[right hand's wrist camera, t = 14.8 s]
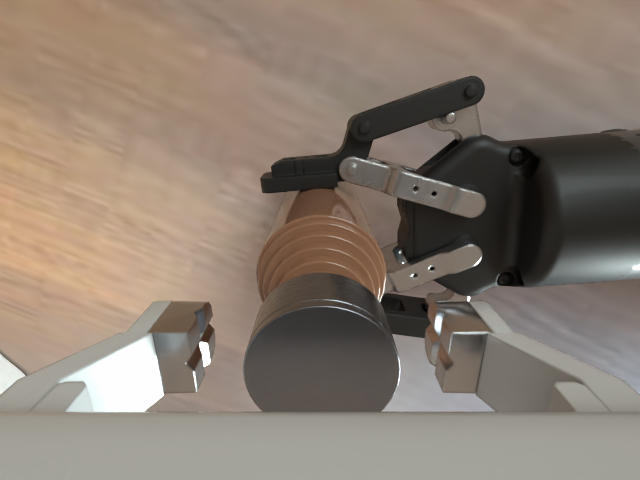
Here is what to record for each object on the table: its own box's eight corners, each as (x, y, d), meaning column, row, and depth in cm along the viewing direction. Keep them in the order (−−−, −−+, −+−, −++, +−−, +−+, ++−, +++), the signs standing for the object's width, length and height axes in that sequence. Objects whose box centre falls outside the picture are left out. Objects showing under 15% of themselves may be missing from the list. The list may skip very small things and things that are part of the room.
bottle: (369, 196, 25) (461, 353, 9) (324, 245, 26) (329, 461, 10) (317, 150, 24) (310, 230, 8) (272, 203, 25) (184, 369, 9)
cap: (326, 244, 9) (328, 274, 7) (413, 335, 10) (432, 380, 8) (228, 326, 10) (209, 369, 8) (316, 403, 11) (316, 455, 9)
